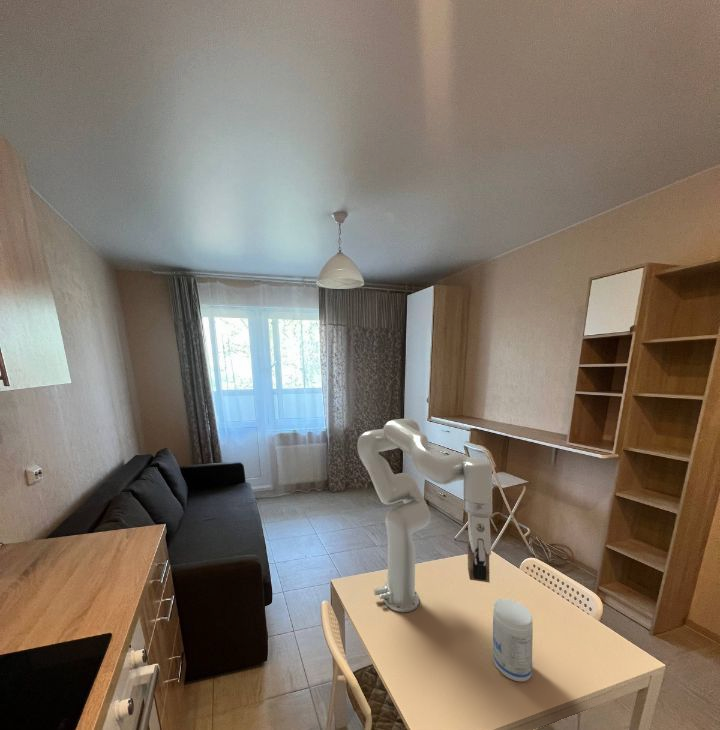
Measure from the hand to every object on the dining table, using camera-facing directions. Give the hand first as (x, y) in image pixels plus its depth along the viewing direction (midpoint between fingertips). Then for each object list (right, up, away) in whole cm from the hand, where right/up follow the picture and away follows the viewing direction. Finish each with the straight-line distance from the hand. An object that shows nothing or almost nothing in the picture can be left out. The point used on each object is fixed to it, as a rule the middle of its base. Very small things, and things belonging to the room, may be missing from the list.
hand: (478, 571), depth 85 cm
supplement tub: (+8, -24, -3) cm, 25 cm away
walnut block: (0, -1, 0) cm, 1 cm away
